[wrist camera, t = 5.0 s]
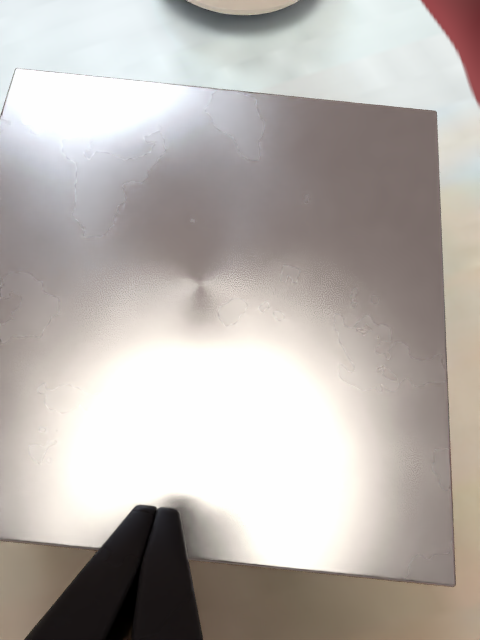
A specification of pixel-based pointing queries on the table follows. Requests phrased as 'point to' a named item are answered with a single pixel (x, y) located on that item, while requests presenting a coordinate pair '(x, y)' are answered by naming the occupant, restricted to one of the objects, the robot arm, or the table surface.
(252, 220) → the lid
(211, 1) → the flower in vase
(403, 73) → the table surface
